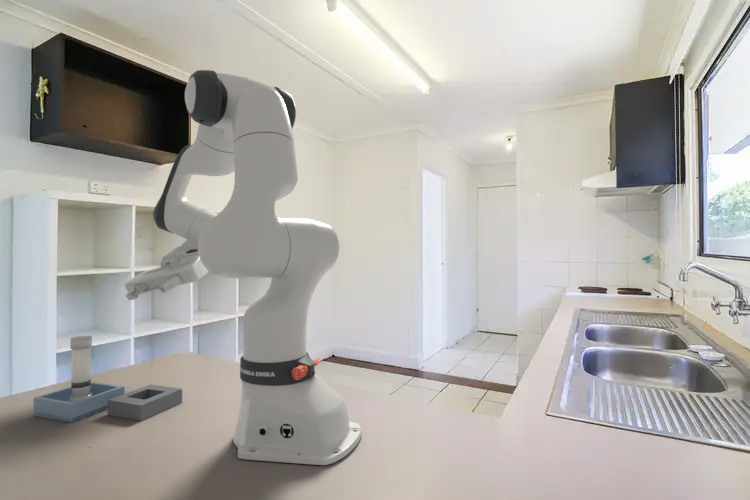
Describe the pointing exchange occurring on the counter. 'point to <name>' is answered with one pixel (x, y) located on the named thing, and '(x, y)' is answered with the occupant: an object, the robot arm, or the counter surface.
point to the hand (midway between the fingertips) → (146, 293)
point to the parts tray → (75, 403)
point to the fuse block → (144, 402)
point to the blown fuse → (81, 367)
